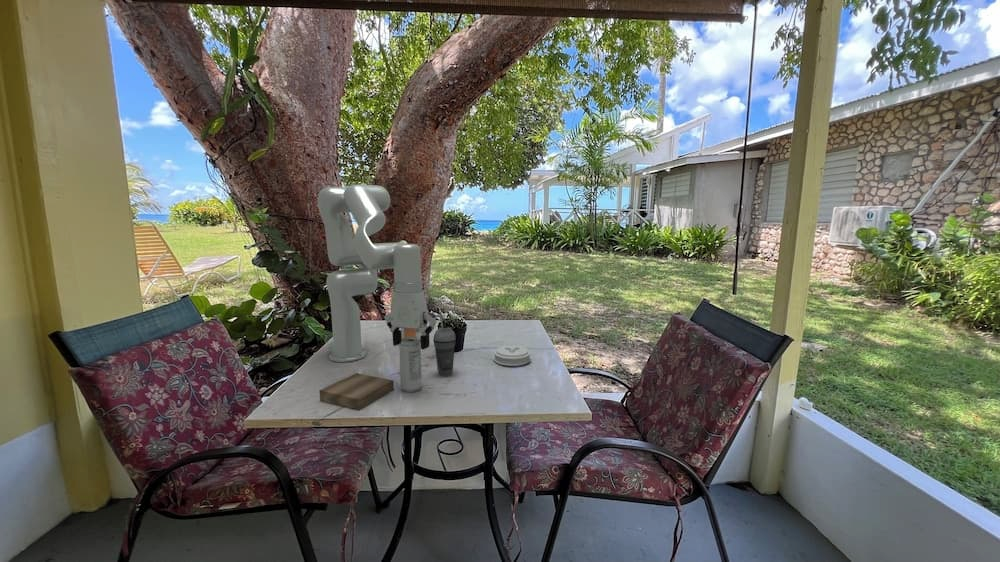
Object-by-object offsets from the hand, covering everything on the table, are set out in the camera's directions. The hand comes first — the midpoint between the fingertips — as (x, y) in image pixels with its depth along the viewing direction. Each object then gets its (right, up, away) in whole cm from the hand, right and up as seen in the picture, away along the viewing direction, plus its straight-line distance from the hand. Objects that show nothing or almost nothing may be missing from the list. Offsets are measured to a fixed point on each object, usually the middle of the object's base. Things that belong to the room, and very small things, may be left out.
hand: (411, 346), depth 119 cm
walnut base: (-15, -14, -2) cm, 20 cm away
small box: (-9, -7, +44) cm, 45 cm away
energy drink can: (0, -13, +2) cm, 13 cm away
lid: (+30, -10, +26) cm, 41 cm away
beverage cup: (+8, -11, +14) cm, 20 cm away
